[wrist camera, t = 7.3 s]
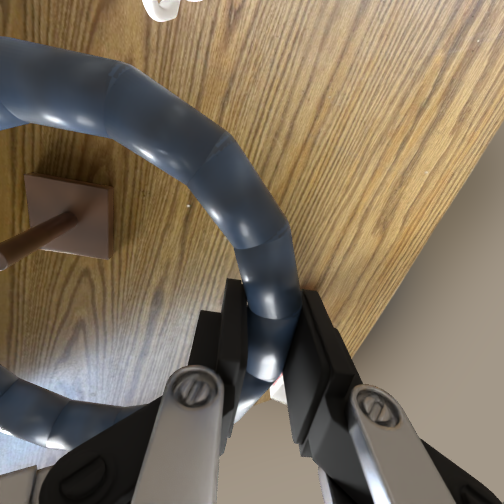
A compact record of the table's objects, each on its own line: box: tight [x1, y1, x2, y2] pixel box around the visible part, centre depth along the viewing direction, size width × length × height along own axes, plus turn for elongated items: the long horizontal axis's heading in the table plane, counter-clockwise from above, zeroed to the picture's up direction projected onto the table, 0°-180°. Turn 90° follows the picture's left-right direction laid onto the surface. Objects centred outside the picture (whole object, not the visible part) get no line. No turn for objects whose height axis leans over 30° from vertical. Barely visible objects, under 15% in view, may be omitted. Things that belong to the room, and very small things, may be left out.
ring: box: [0, 36, 302, 451], centre depth 10 cm, size 15×15×2 cm
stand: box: [0, 172, 113, 271], centre depth 29 cm, size 9×9×12 cm
